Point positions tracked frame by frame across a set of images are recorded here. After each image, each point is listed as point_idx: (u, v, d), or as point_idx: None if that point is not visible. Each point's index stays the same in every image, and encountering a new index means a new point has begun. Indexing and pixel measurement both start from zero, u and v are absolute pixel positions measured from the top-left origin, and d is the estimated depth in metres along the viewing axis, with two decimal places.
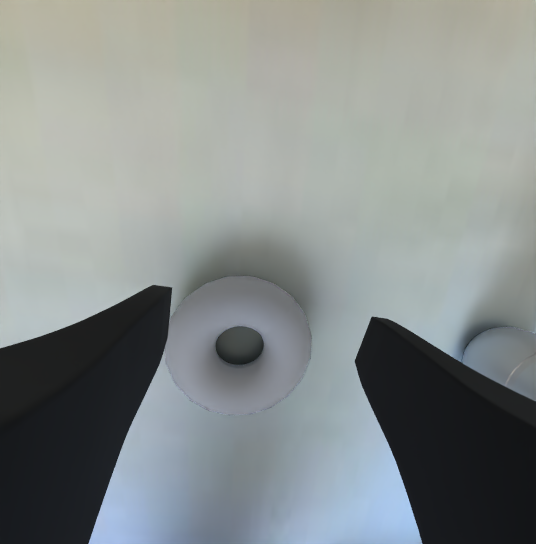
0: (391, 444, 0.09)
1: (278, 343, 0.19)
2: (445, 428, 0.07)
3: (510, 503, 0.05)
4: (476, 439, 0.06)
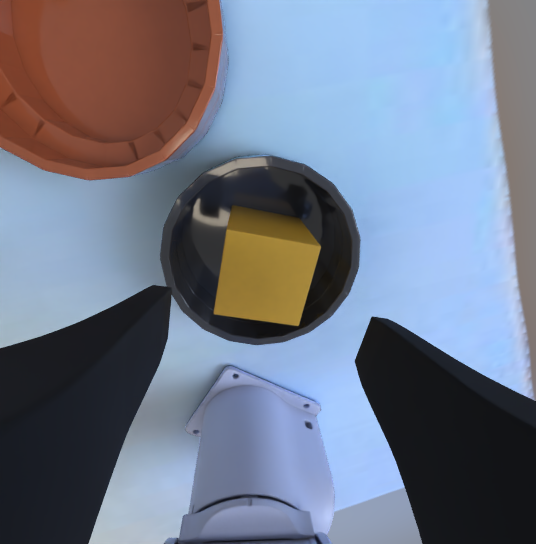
0: (391, 444, 0.09)
1: None
2: (445, 428, 0.07)
3: (510, 503, 0.05)
4: (476, 439, 0.06)
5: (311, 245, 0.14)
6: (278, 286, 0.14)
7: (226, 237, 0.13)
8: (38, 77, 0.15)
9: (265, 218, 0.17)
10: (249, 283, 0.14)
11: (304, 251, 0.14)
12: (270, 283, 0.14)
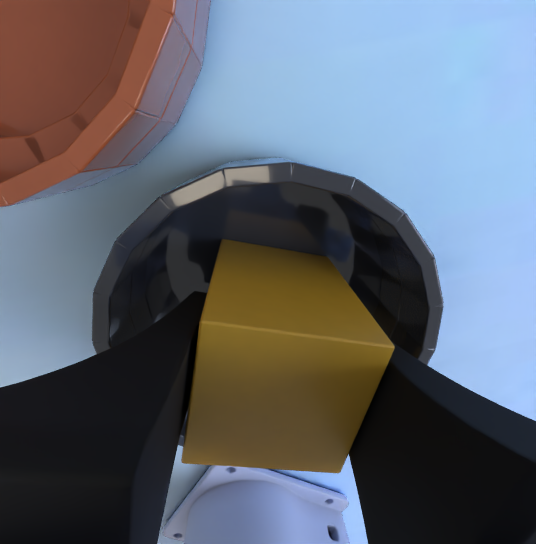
0: None
1: None
2: (390, 423, 0.07)
3: (440, 499, 0.05)
4: (415, 434, 0.06)
5: (375, 345, 0.07)
6: (306, 416, 0.07)
7: (200, 336, 0.06)
8: None
9: (276, 267, 0.10)
10: (249, 413, 0.07)
11: (360, 357, 0.07)
12: (290, 413, 0.07)
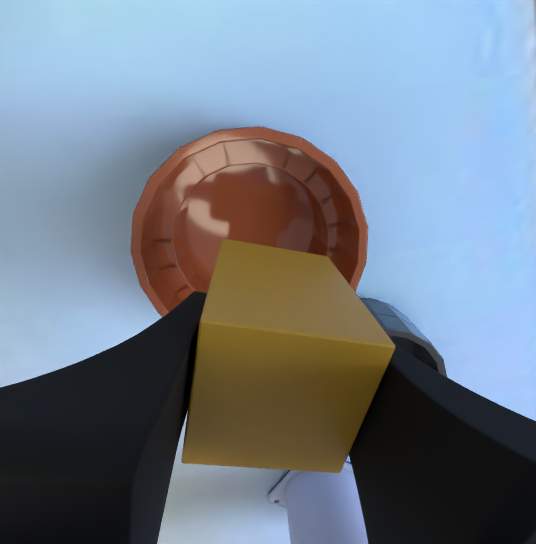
0: None
1: None
2: (390, 423, 0.07)
3: (440, 499, 0.05)
4: (415, 434, 0.06)
5: (376, 344, 0.07)
6: (307, 416, 0.07)
7: (200, 335, 0.06)
8: (193, 256, 0.19)
9: (276, 266, 0.10)
10: (249, 413, 0.07)
11: (361, 356, 0.07)
12: (291, 412, 0.07)
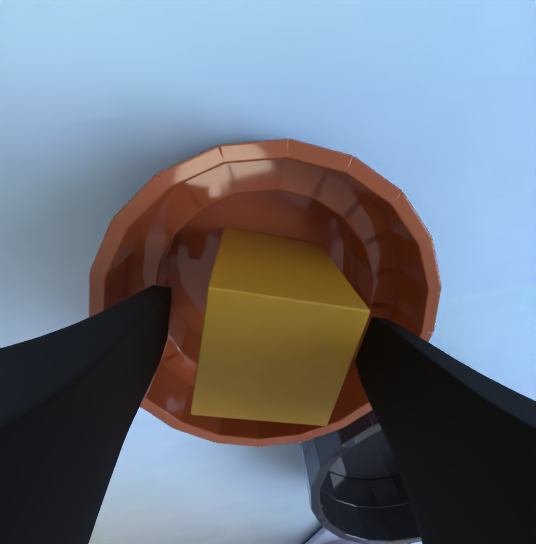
0: (390, 444, 0.09)
1: None
2: (445, 428, 0.07)
3: (510, 503, 0.05)
4: (476, 439, 0.06)
5: (354, 309, 0.08)
6: (297, 372, 0.09)
7: (208, 300, 0.07)
8: (186, 307, 0.14)
9: (272, 250, 0.11)
10: (248, 370, 0.08)
11: (342, 320, 0.08)
12: (283, 369, 0.09)
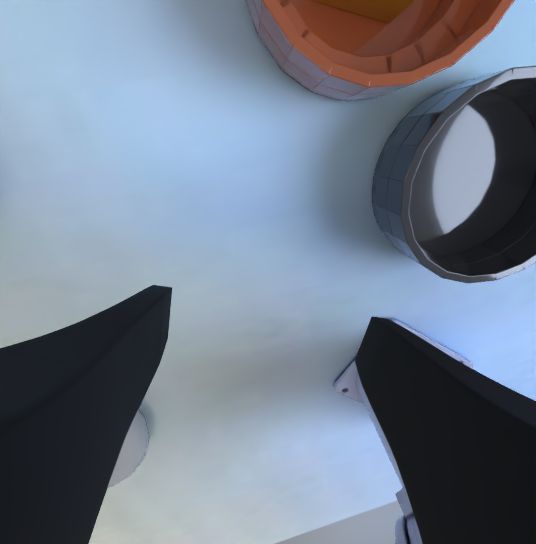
0: (390, 444, 0.09)
1: None
2: (445, 428, 0.07)
3: (510, 503, 0.05)
4: (476, 439, 0.06)
5: None
6: None
7: None
8: None
9: None
10: None
11: None
12: None
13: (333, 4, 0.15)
